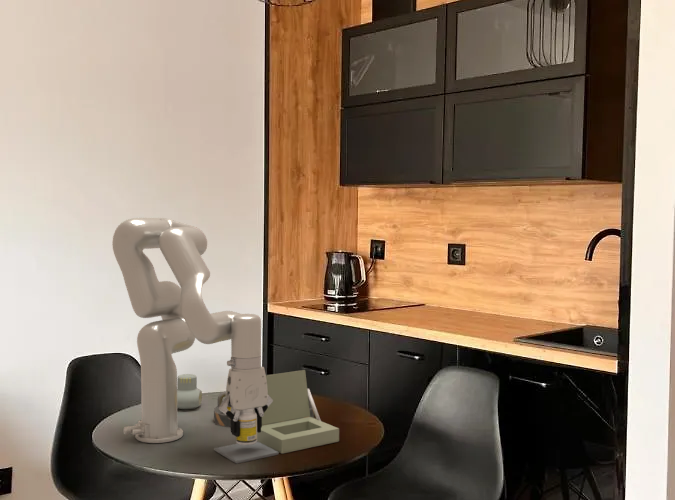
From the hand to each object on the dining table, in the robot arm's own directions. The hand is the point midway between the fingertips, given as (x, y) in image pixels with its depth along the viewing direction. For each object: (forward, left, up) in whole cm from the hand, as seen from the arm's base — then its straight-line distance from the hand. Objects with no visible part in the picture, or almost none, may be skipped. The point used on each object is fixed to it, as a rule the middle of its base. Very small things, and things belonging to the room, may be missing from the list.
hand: (246, 432), depth 188 cm
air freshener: (+6, +49, -5) cm, 50 cm away
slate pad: (0, 0, -5) cm, 5 cm away
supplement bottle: (0, 0, -3) cm, 3 cm away
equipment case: (+17, +3, -5) cm, 18 cm away
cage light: (+20, +25, -6) cm, 32 cm away
